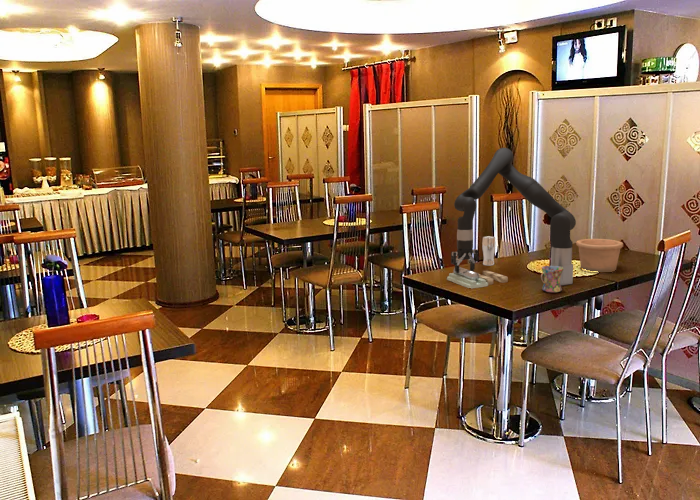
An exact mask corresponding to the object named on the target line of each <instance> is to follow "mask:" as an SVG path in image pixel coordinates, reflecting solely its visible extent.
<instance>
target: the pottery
mask: <svg viewBox="0 0 700 500" xmlns="http://www.w3.org/2000/svg"><path fill="white" fill-rule="evenodd" d="M576 246H577V247H578V252H579V253H578V255H579V264H580V269H581V268H583V269H586V270H590V271H598V272H612V271H615V270H616V271H617V267H618V261H619V256H620V252H621V249H622V248H623V247H624V243H623V242H622V241H619V240H614V239H608V238H607V239H606V238H582V239H578V240H577V241H576ZM616 271H615V272H616ZM612 273H613V272H612Z"/></svg>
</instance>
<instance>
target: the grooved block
mask: <svg viewBox="0 0 700 500" xmlns="http://www.w3.org/2000/svg"><path fill="white" fill-rule="evenodd" d="M446 280H447V281H450V282H452V283H454V284H457V285H459V286H462V287H464V288H467V289H469V288H471V289H478V288H483V287H489V285H488V283H487V282H486V280H484V279H481V278H479V279H478V280H477V281H474V280H471V279H468V278H466V277H463V276H460V275H457V274H455V273H454V272H452V273H451V272H450V273H448V276H446Z"/></svg>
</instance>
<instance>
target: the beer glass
mask: <svg viewBox="0 0 700 500" xmlns="http://www.w3.org/2000/svg"><path fill="white" fill-rule="evenodd" d="M481 244H482V247H481V248H482V254H483V262H482V265H483V266H495V261H494V259H495V251H496V236H490V235H488V236H487V235H486V236H482V242H481Z"/></svg>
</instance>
